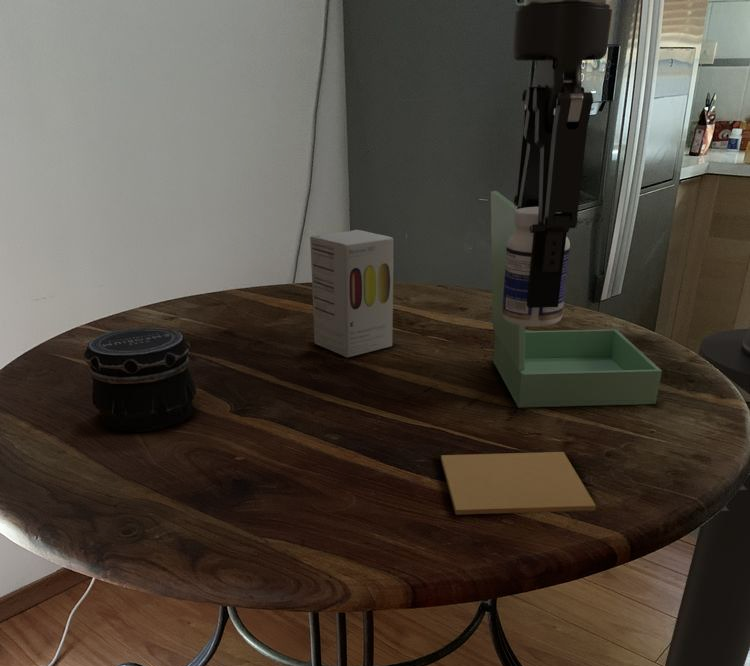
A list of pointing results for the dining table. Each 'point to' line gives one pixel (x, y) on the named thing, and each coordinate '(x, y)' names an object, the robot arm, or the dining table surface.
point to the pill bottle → (527, 276)
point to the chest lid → (501, 233)
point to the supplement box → (352, 291)
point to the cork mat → (514, 483)
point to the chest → (579, 370)
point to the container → (141, 378)
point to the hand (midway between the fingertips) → (533, 296)
